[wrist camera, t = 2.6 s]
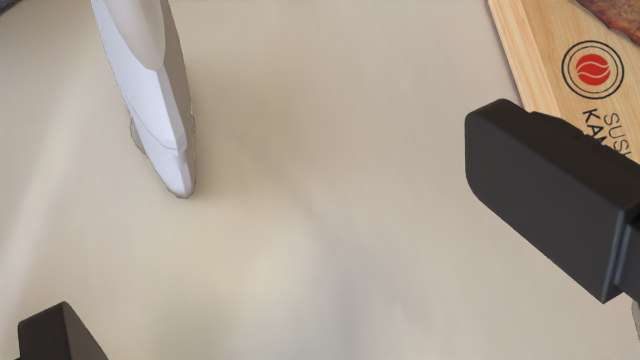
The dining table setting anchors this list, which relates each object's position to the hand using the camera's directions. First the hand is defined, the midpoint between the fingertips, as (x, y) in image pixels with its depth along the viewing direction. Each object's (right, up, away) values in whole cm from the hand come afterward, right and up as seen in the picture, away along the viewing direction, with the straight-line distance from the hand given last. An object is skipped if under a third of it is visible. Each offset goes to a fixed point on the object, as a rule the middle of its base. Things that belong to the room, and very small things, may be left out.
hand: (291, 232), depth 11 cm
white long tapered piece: (-10, +4, +28) cm, 30 cm away
